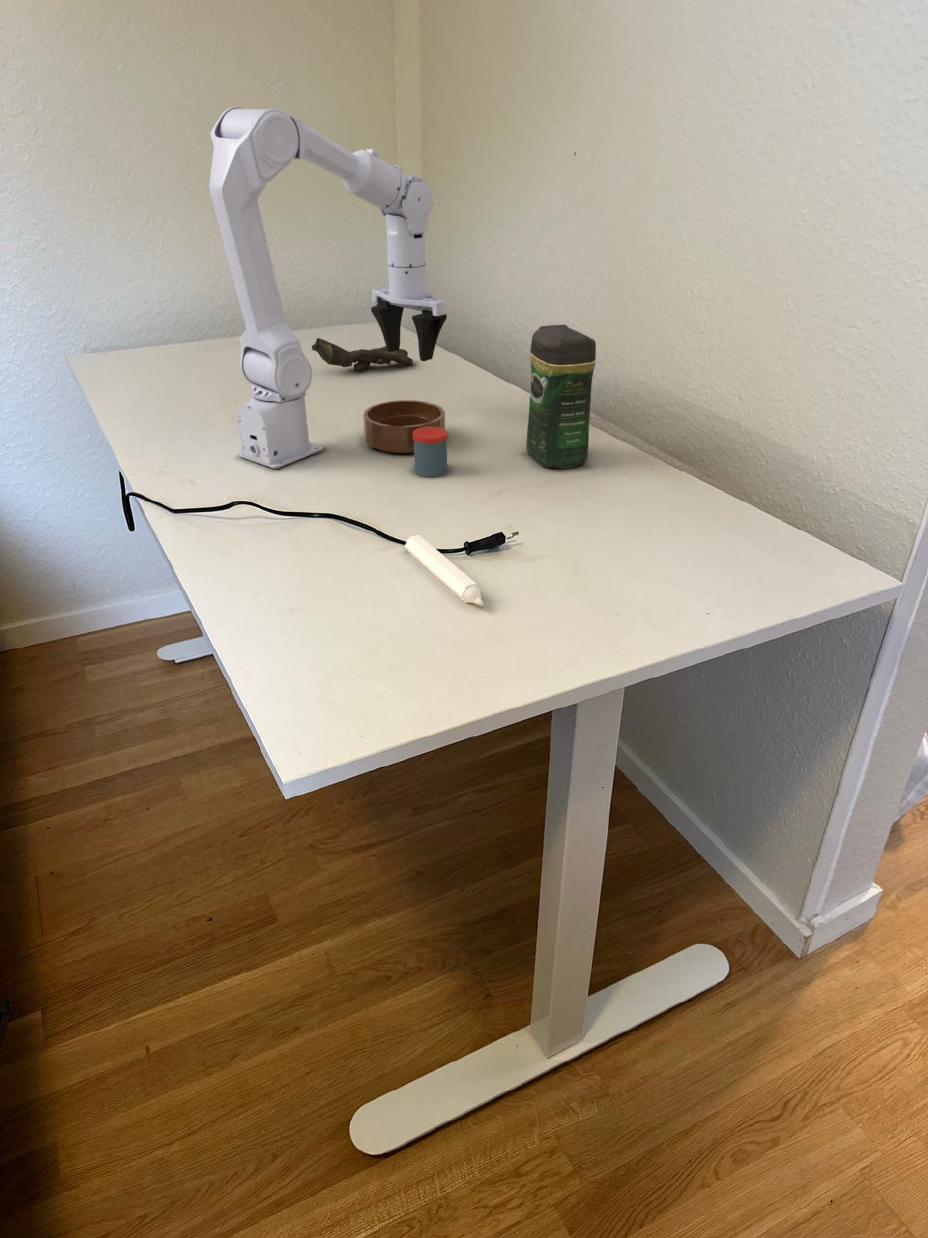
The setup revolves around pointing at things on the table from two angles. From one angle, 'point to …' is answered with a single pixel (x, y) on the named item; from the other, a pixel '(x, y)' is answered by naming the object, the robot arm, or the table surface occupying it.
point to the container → (430, 451)
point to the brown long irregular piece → (359, 355)
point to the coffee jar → (560, 396)
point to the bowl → (399, 423)
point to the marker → (444, 570)
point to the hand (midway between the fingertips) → (409, 355)
